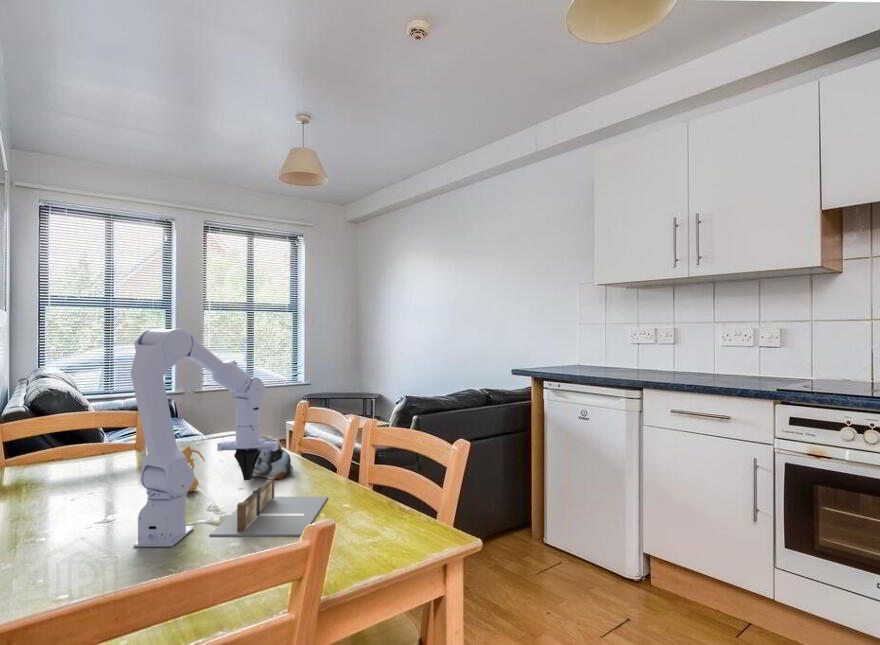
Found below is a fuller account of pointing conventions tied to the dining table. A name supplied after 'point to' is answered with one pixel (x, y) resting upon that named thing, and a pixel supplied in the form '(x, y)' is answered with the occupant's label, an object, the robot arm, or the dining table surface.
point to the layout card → (276, 518)
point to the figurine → (191, 464)
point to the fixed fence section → (248, 511)
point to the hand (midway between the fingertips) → (247, 479)
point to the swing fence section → (266, 492)
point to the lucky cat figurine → (273, 464)
